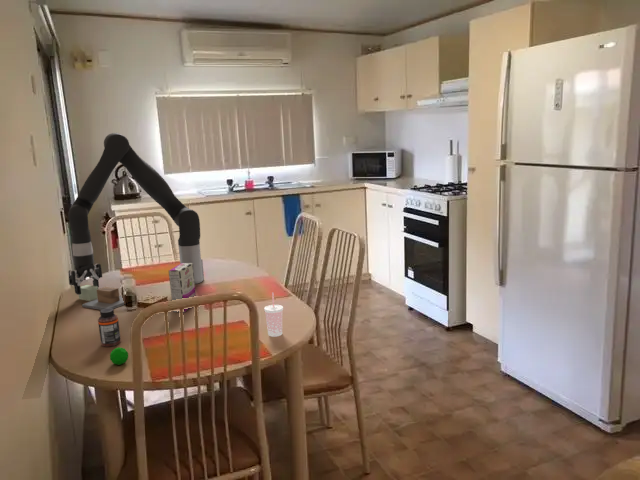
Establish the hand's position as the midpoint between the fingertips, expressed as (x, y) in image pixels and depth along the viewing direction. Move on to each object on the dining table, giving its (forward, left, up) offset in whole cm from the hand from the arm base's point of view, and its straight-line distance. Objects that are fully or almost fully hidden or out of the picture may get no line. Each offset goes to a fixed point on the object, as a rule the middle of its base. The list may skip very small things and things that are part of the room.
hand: (87, 291), depth 220 cm
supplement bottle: (+32, +49, -3) cm, 59 cm away
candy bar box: (-5, +47, -3) cm, 47 cm away
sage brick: (0, 0, -3) cm, 3 cm away
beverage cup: (+5, +94, -3) cm, 94 cm away
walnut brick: (+2, +14, -2) cm, 14 cm away
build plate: (+2, +14, -3) cm, 14 cm away
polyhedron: (+42, +64, -3) cm, 77 cm away
